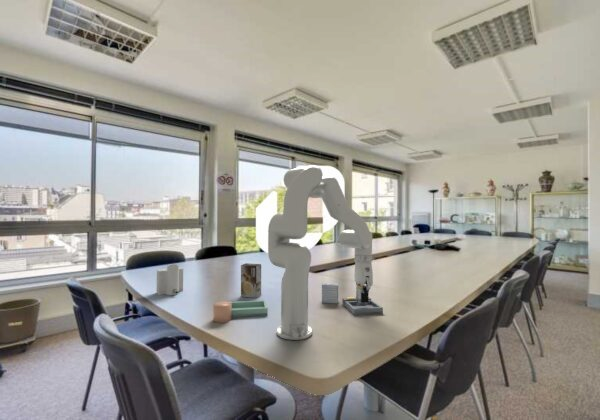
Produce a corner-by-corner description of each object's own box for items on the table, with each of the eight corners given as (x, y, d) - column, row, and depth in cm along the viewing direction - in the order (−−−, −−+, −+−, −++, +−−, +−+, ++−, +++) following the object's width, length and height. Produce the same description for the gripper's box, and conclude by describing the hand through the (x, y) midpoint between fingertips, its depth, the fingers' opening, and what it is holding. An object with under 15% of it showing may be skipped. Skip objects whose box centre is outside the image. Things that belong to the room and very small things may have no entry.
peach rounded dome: (231, 322, 112) (231, 306, 113) (212, 323, 111) (212, 307, 111) (231, 315, 119) (231, 301, 119) (214, 316, 118) (214, 302, 118)
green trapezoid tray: (267, 315, 120) (267, 308, 120) (227, 317, 117) (227, 310, 117) (265, 307, 131) (265, 300, 131) (229, 308, 128) (229, 302, 128)
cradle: (382, 313, 123) (382, 305, 123) (353, 315, 121) (353, 307, 121) (368, 303, 138) (368, 296, 138) (342, 304, 135) (342, 297, 135)
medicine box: (338, 301, 141) (338, 283, 141) (338, 303, 137) (338, 285, 137) (321, 300, 142) (321, 282, 142) (321, 303, 137) (321, 284, 138)
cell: (368, 305, 125) (369, 286, 126) (359, 306, 124) (359, 286, 125) (364, 302, 130) (365, 283, 130) (355, 303, 129) (355, 283, 129)
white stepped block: (180, 289, 161) (180, 262, 161) (188, 294, 150) (189, 265, 150) (156, 292, 153) (156, 264, 153) (163, 299, 142) (164, 268, 142)
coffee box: (261, 294, 151) (262, 263, 151) (256, 298, 145) (256, 266, 145) (246, 293, 153) (246, 263, 154) (240, 296, 147) (240, 265, 147)
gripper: (379, 261, 120) (378, 305, 120) (363, 256, 137) (362, 295, 136) (362, 261, 119) (361, 306, 118) (348, 256, 135) (347, 295, 135)
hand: (362, 300), depth 127 cm, fingers closed on cell, 4 cm apart
